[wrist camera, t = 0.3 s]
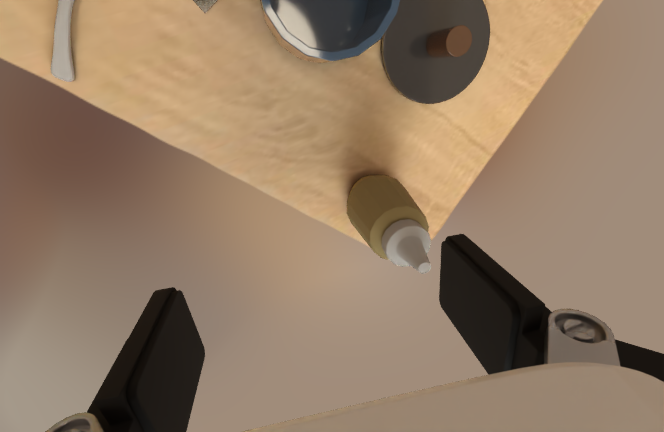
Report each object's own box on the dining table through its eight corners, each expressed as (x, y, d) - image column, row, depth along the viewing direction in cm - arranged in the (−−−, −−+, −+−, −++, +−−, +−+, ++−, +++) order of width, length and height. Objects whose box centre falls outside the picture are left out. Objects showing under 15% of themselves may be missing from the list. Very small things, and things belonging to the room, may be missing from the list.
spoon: (97, -45, 29) (85, -50, 28) (85, 84, 34) (74, 86, 32) (60, -62, 28) (45, -69, 27) (53, 72, 33) (40, 73, 31)
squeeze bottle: (347, 162, 42) (393, 221, 25) (404, 171, 43) (481, 231, 27) (335, 218, 45) (370, 302, 29) (389, 224, 46) (450, 306, 30)
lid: (427, -51, 33) (456, -74, 28) (505, 28, 38) (543, 21, 32) (358, 62, 37) (372, 61, 31) (437, 122, 41) (461, 130, 36)
